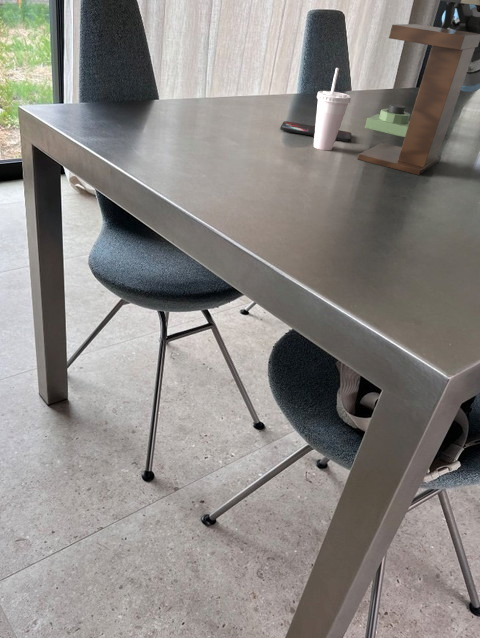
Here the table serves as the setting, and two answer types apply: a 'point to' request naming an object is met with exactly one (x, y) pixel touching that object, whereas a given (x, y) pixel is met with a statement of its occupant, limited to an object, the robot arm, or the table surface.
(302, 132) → the smartphone
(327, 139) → the smoothie
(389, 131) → the switch box
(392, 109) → the button
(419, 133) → the shelf
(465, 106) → the table surface
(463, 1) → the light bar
